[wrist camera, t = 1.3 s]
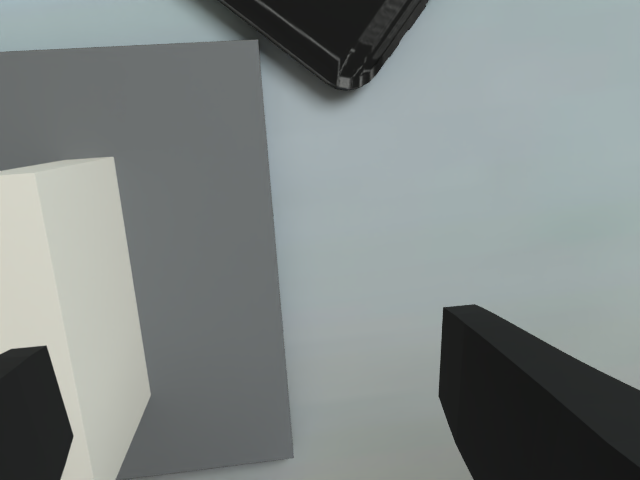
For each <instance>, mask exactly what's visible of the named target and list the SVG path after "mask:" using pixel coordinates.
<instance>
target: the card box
mask: <svg viewBox="0 0 640 480" xmlns="http://www.w3.org/2000/svg"><path fill="white" fill-rule="evenodd" d="M46 345H47V349H48V352H49V355H50V359H51V362H52V365H53V369H54V372H55V375H56V379H57V382H58V385H59V389H60V392H61V395H62V399H63V402H64V405H65V409H66V412H67V415H68V419H69V422H70V425H71V429H72V432H73V436H74V437H73V440H72V444H71V447H70V450H69V454H68V457H67V461H66V464H65V468H64V471H63V474H62V477H61V480H116V477H117V475H118V472H119V470H120V468H121V465H122V463H123V461H124V458H125V456H126V453H127V451H128V449H129V446H130V444H131V441H132V439H133V437H134V434H135V432H136V430H137V427H138V425H139V422H140V420H141V418H142V415H143V413H144V410H145V408H146V406H147V403H148V401H149V398H150V396H151V393H150V386H149V380H148V374H147V367H146V361H145V354H144V348H143V342H142V335H141V329H140V322H139V316H138V310H137V303H136V297H135V290H134V284H133V278H132V271H131V265H130V258H129V252H128V246H127V239H126V233H125V226H124V220H123V214H122V207H121V201H120V194H119V188H118V182H117V175H116V169H115V162H114V157H101V158H86V159H72V160H62V161H56V162H50V163H44V164H38V165H32V166H26V167H21V168H15V169H9V170H3V171H0V354H2V353H4V352H6V351H8V350H10V349H15V348H26V347H36V346H46Z"/></svg>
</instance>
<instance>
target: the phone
mask: <svg viewBox="0 0 640 480" xmlns="http://www.w3.org/2000/svg"><path fill="white" fill-rule="evenodd" d="M219 1H220V2H221V3H222V4H224V5H225V6H226V7H228V8H229V9H230V10H232V11H233V12H234V13H235V14H237V15H238V16H239V17H241V18H242V19H243V20H245V21H246V22H247V23H248V24H250V25H251V26H252V27H254V28H255V29H256V30H258V31H259V32H260V33H261V34H263V35H264V36H265V37H267V38H268V39H269V40H271V41H272V42H273V43H274V44H276V45H277V46H278V47H280V48H281V49H282V50H284V51H285V52H286V53H287V54H289V55H290V56H291V57H293V58H294V59H295V60H297V61H298V62H299V63H300V64H302V65H303V66H304V67H306V68H307V69H308V70H310V71H311V72H312V73H313V74H315V75H316V76H317V77H319V78H320V79H321V80H323V81H324V82H325V83H326V84H328V85H330V86H332V87H334V88H336V89H341V90H351V89H356V88H359V87H361V86H363V85H365V84H366V83H368V82H370V81H371V79H372V78H373V77H374V76H375V75H376V74H377V73H378V71H379V70H380V69H381V67H382V66H383V64H384V63H385V61H386V60H387V59H388V57H390V56H391V55H392V53H393V52H394V50H395V49H396V47H397V46H398V45H399V42H400V40H401V39H402V37H403V36H404V34H405V33H406V32H407V30H410V28H411V27H412V25H413V24H414V23H415V21H416V20H417V18H418V17H419V16H420V14H421V13H422V11H423V10H424V8H425V7H426V3H427V2H428V0H219Z"/></svg>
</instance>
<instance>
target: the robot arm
mask: <svg viewBox="0 0 640 480" xmlns="http://www.w3.org/2000/svg"><path fill="white" fill-rule="evenodd" d="M439 398H440V401H441V404H442V407H443V410H444V413H445V416H446V419H447V421H448V424H449V427H450V430H451V432H452V435H453V438H454V440H455V443H456V445H457V447H458V449H459V451H460V453H461V455H462V458H463V459H464V461H465V463H466V465H467V467H468V469H469V471H470V473H471V475H472V477H473V479H474V480H640V390H638V389H636V388H634V387H631V386H629V385H627V384H625V383H623V382H621V381H619V380H617V379H615V378H613V377H611V376H609V375H607V374H605V373H603V372H601V371H599V370H597V369H595V368H593V367H591V366H589V365H587V364H585V363H583V362H581V361H579V360H577V359H575V358H574V357H572V356H570V355H568V354H566V353H564V352H562V351H561V350H559V349H557V348H555V347H553V346H551V345H549V344H548V343H546V342H544V341H542V340H540V339H539V338H537V337H535V336H533V335H532V334H530V333H528V332H526V331H524V330H523V329H521V328H519V327H517V326H515V325H514V324H512V323H510V322H508V321H506V320H505V319H503V318H501V317H499V316H497V315H495V314H494V313H492V312H490V311H488V310H486V309H484V308H482V307H479V306H477V305H475V304H474V305H464V306H453V307H443V323H442V342H441V361H440V379H439ZM73 437H74V436H73V432H72V429H71V425H70V422H69V419H68V415H67V412H66V409H65V405H64V402H63V399H62V395H61V392H60V389H59V385H58V382H57V379H56V375H55V372H54V369H53V365H52V362H51V359H50V355H49V352H48V349H47V345H46V346H36V347H26V348H15V349H10V350H8V351H6V352H4V353H2V354H0V480H61V477H62V474H63V471H64V468H65V464H66V461H67V457H68V454H69V450H70V447H71V444H72V440H73Z"/></svg>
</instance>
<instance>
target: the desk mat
mask: <svg viewBox="0 0 640 480" xmlns="http://www.w3.org/2000/svg"><path fill="white" fill-rule="evenodd" d="M101 157H114V162H115V169H116V175H117V182H118V188H119V194H120V201H121V207H122V214H123V220H124V226H125V233H126V239H127V246H128V252H129V258H130V265H131V271H132V278H133V284H134V290H135V297H136V303H137V310H138V316H139V322H140V329H141V335H142V342H143V348H144V354H145V361H146V367H147V374H148V380H149V386H150V393H151V396H150V398H149V401H148V403H147V406H146V408H145V410H144V413H143V415H142V418H141V420H140V422H139V425H138V427H137V430H136V432H135V434H134V437H133V439H132V441H131V444H130V446H129V449H128V451H127V453H126V456H125V458H124V461H123V463H122V465H121V468H120V470H119V472H118V475H117V477H116V480H124V479H131V478H139V477H147V476H155V475H163V474H171V473H179V472H187V471H195V470H203V469H210V468H218V467H226V466H234V465H242V464H250V463H258V462H266V461H274V460H281V459H289V458H294V455H293V443H292V431H291V419H290V408H289V396H288V384H287V373H286V361H285V349H284V338H283V326H282V314H281V303H280V291H279V279H278V267H277V256H276V244H275V232H274V221H273V209H272V197H271V186H270V174H269V162H268V151H267V139H266V127H265V115H264V104H263V92H262V80H261V69H260V57H259V45H258V40H238V41H217V42H196V43H175V44H154V45H133V46H113V47H92V48H71V49H50V50H29V51H8V52H0V171H3V170H9V169H15V168H21V167H26V166H32V165H38V164H44V163H50V162H56V161H62V160H72V159H86V158H101Z"/></svg>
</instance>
